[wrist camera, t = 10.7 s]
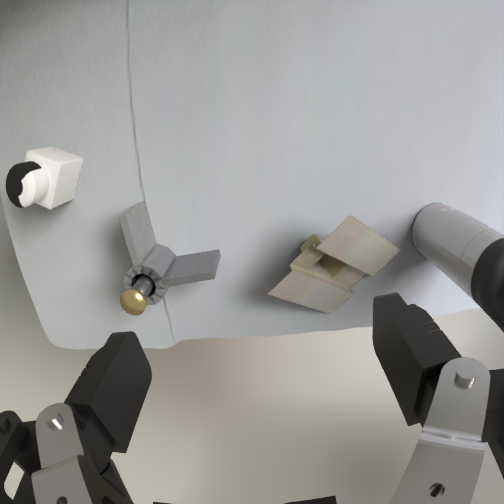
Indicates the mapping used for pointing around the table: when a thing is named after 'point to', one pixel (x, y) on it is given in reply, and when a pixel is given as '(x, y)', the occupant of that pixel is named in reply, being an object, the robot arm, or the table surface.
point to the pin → (137, 295)
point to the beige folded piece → (334, 266)
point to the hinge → (160, 257)
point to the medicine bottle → (44, 178)
